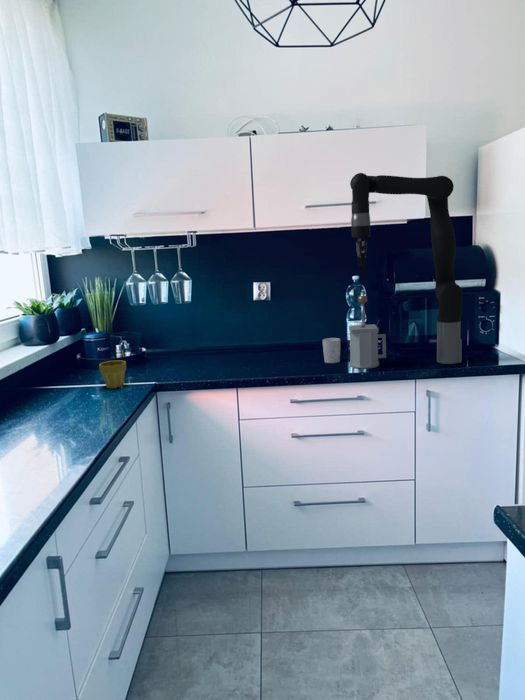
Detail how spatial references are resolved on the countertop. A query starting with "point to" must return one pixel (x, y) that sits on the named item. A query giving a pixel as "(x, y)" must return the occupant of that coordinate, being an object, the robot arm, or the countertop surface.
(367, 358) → the press
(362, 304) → the plunger
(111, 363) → the plant pot
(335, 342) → the white cup
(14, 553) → the countertop surface
